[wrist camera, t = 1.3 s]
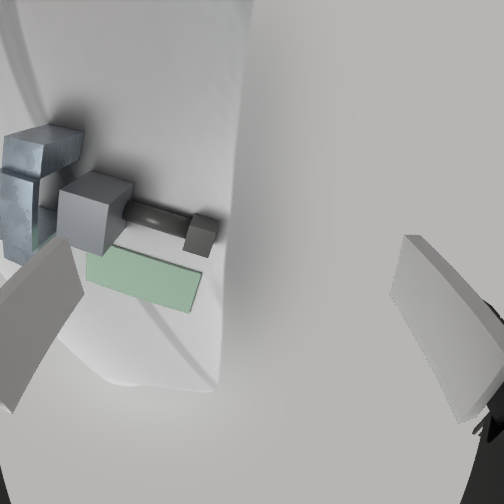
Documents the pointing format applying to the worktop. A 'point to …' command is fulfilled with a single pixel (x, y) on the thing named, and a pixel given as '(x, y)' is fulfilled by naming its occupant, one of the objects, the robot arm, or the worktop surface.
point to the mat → (144, 277)
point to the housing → (31, 186)
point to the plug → (121, 216)
